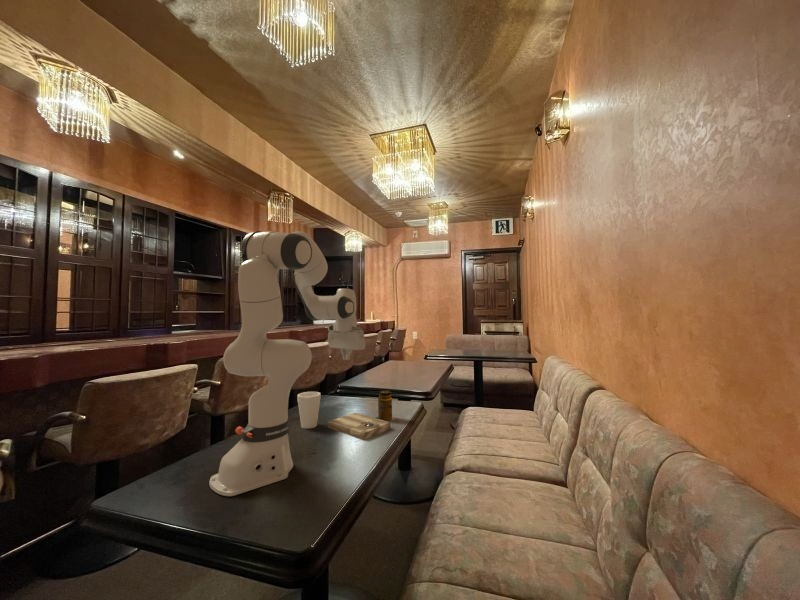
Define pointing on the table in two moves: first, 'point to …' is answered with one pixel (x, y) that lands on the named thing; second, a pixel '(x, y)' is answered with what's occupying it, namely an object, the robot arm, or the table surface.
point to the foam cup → (309, 408)
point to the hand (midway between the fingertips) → (346, 359)
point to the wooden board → (359, 425)
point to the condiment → (385, 406)
